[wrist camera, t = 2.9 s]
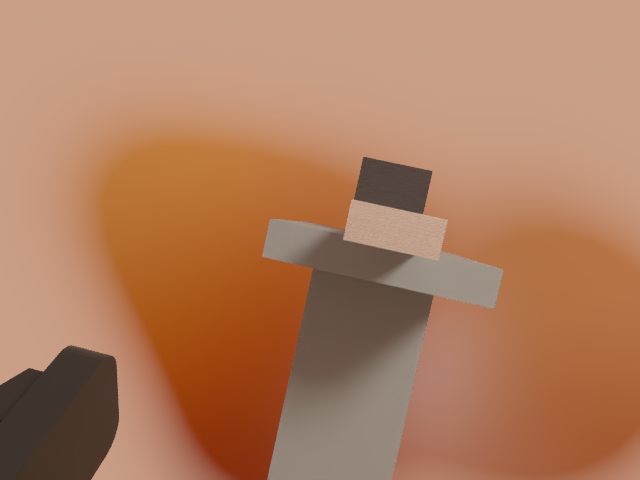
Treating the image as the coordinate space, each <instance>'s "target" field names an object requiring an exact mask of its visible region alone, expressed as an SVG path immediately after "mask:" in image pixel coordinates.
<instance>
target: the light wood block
mask: <svg viewBox="0 0 640 480" xmlns="http://www.w3.org/2000/svg"><path fill="white" fill-rule="evenodd" d="M431 175H432V171H429V170H424V169H419V168H414V167H410V166H405V165H400V164H395V163H390V162H386V161H381V160H376V159H371V158H367V157H363V161H362V166H361V171H360V176H359V180H358V184H357V189H356V193H355V198H354V200H353V199H352V201H351V205H350V210H349V214H348V219H347V224H346V228H345V233H344V237H343V240H346V241H351V242H355V243H360V244H365V245H369V246H374V247H378V248H383V249H387V250H392V251H396V252H401V253H405V254H410V255H415V256H419V257H424V258H428V259H433V260H437V261H439V257H440V252H441V248H442V243H443V239H444V234H445V230H446V226H447V221H448V220H447V219H442V218H437V217H433V216H428V215H423V211H424V207H425V202H426V198H427V193H428V189H429V184H430V180H431Z"/></svg>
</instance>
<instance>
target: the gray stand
mask: <svg viewBox="0 0 640 480" xmlns="http://www.w3.org/2000/svg"><path fill="white" fill-rule="evenodd" d="M344 233H345V230H342V229H337V228H333V227H328V226H323V225H319V224H314V223H309V222H299V221H289V220H278V219H270V222H269V227H268V232H267V237H266V241H265V246H264V251H263V255H262V257H266V258H270V259H274V260H279V261H283V262H288V263H292V264H297V265H301V266H306V267H310V268H313V273H312V277H311V282H310V286H309V291H308V295H307V300H306V305H305V309H304V314H303V318H302V323H301V328H300V332H299V337H298V341H297V346H296V351H295V355H294V360H293V365H292V369H291V374H290V378H289V383H288V388H287V392H286V397H285V401H284V406H283V410H282V415H281V420H280V424H279V429H278V434H277V438H276V443H275V447H274V452H273V456H272V461H271V465H270V470H269V475H268V479H267V480H392V477H393V473H394V468H395V464H396V459H397V455H398V450H399V446H400V441H401V437H402V433H403V428H404V424H405V419H406V414H407V410H408V406H409V401H410V397H411V393H412V388H413V384H414V379H415V375H416V371H417V366H418V361H419V357H420V352H421V348H422V344H423V339H424V335H425V331H426V326H427V322H428V317H429V313H430V308H431V304H432V300H433V295H435V296H440V297H444V298H449V299H453V300H457V301H462V302H466V303H470V304H475V305H479V306H484V307H488V308H493V309H495V304H496V300H497V296H498V291H499V287H500V282H501V278H502V274H503V270H502V269H499V268H496V267H493V266H490V265H486V264H483V263H480V262H476V261H474V260H471V259H467V258H464V257H461V256H458V255H454V254H451V253H446V252H442V251H441V252H440V257H439V261H437V260H433V259H428V258H424V257H419V256H415V255H410V254H405V253H401V252H396V251H392V250H387V249H383V248H378V247H374V246H369V245H365V244H360V243H355V242H351V241H346V240H343V237H344Z"/></svg>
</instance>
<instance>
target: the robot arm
mask: <svg viewBox="0 0 640 480" xmlns="http://www.w3.org/2000/svg"><path fill="white" fill-rule="evenodd" d="M118 421H119V409H118V388H117V366H116V360H115V358H114V357H113V356H110V355H107V354H103V353H99V352H95V351H91V350H87V349H84V348H79V347H76V346H68V347H66V348H65V349H63V350H62V351H61V352H60V353H59V355H58V356H57V357H56V358H55V359H54V360H53V362H52V363H51V364H50V365H49V366H48V367H47V369H46V370H45V371H44V372H42V371H38V370H34V369H30V368H29V369H27V370H25V371H23V372H22V373H20V374H18V375H17V376H15V377H13V378H12V379H10V380H8V381H7V382H5V383H3V384H2V385H0V480H91V479H92V477H93V476H94V474H95V472H96V471H97V469H98V468H99V466H100V464H101V463H102V461H103V460H104V458H105V456H106V455H107V453H108V451H109V449H110V447H111V445H112V443H113V440H114V437H115V434H116V431H117V427H118Z"/></svg>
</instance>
